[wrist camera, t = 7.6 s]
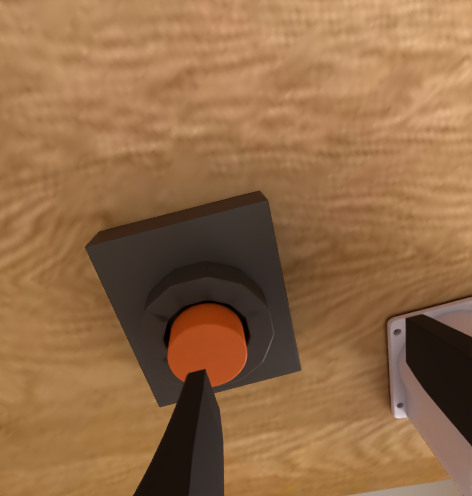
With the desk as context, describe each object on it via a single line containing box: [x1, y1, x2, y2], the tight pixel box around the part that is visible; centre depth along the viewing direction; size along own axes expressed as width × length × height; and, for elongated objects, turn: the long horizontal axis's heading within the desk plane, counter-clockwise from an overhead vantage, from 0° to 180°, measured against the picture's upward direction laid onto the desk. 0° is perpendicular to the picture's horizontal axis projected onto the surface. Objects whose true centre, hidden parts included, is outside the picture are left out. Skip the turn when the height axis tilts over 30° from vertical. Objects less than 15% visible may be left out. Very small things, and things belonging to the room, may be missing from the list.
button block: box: [85, 191, 301, 407], centre depth 17 cm, size 11×9×4 cm
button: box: [167, 303, 247, 387], centre depth 15 cm, size 4×4×2 cm
